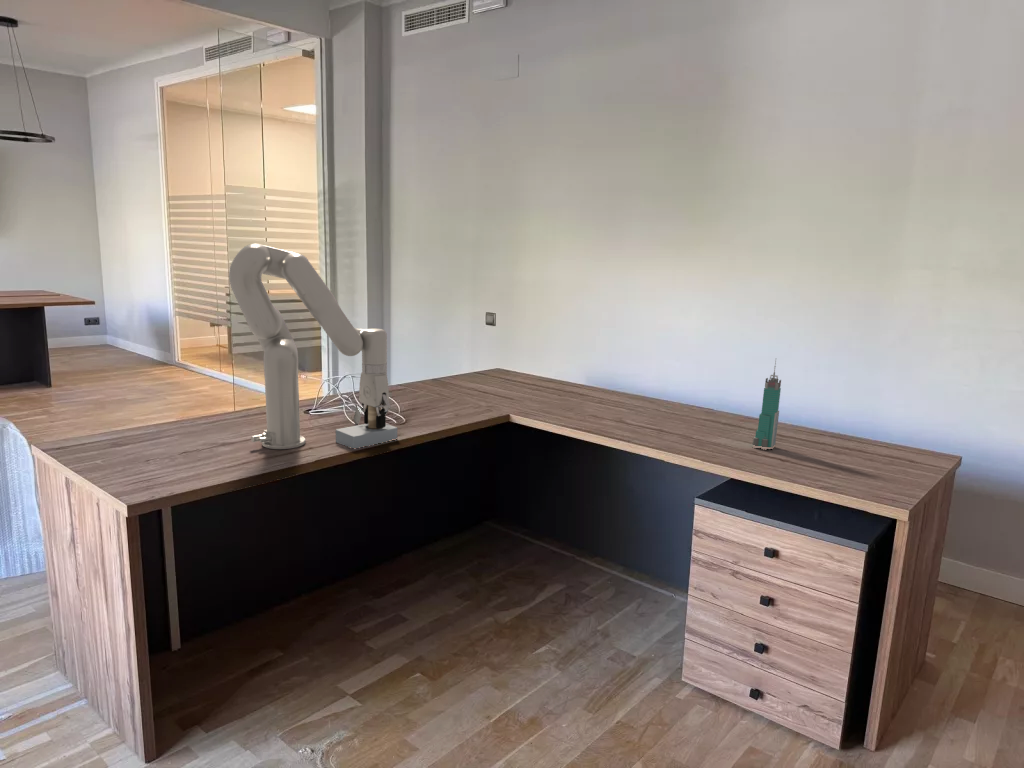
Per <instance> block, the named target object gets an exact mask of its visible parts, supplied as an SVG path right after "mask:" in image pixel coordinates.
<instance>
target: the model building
mask: <svg viewBox="0 0 1024 768" xmlns="http://www.w3.org/2000/svg"><path fill="white" fill-rule="evenodd" d="M354 408H355V412H354V416H353V422H354V423H355V424H356V426H357V425H358V424H359V425H360V421H361V417H362V414H361V415H360V412H359V410H358V408H357V405H356V404H355V407H354Z"/></svg>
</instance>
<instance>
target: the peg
mask: <svg viewBox="0 0 1024 768" xmlns="http://www.w3.org/2000/svg"><path fill="white" fill-rule="evenodd" d="M380 405H382V404H380ZM381 409H382V407H380V411H381ZM376 416H378V415H377V411H376V407H372V406H369V405H368V429H381V428H376Z"/></svg>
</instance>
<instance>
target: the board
mask: <svg viewBox="0 0 1024 768" xmlns="http://www.w3.org/2000/svg"><path fill="white" fill-rule="evenodd" d="M396 438H397V439H398V427H397V426H395V425H390V424H389V423H386V426H385V427H383V428H381V429H368V424H365V423H362V424H359V425H357V424H356V425H352V426H348V427H342V428H336V429H335V442H336V443H337V444H340V445H342V446H344V445H345V446H344V447H347V446H348V447H347V448H349V447H351V448H359V447H363V446H368V447H370V446H369V445H372V446H374V445H373V444H377V445H379V444H378V443H381V444H383V443H382V442H386V441H389V440H392V439H396ZM386 443H387V442H386ZM351 448H350V449H351ZM363 448H364V447H363ZM359 449H360V448H359Z"/></svg>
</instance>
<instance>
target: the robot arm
mask: <svg viewBox="0 0 1024 768" xmlns="http://www.w3.org/2000/svg"><path fill="white" fill-rule="evenodd" d="M228 273H229V274H228V278H229V284H230V287H231V290H232V293H233V295H234V297H235V299H236V301H237V304H238V306H239V308H240V310H241V312H242V314H243V317H244V318H245V321H246V323H247V326H248V328H249V331H250V332H251V333H252V334H253V335H254V337H256V338H257V342H258V343H259V345H260V347H261V349H262V351H263V373H264V388H265V389H264V391H265V393H264V394H265V416H266V417H265V418H266V429H263V432H262V433H261V434H256V435H255V434H254V435H251V436H250V440H251V442H252V443H257V442H259V443H261V445H262V447H264V448H266V449H271V450H289V449H290V450H291V449H295V448H298V447H302V446H303V445H305V444H306V437H304V436H302V435H301V424H300V421H301V420H300V418H301V417H300V392H299V390H300V388H299V386H300V385H299V352H298V351H299V350H298V347H297V344H296V342H295V340H294V338H293V336H292V333H291V332H290V330H289V327H288V326H287V323H286V320H285V319H284V317H283V315H282V313H281V312H280V310H279V309H278V308H277V307H276V306H274V304H273V303H272V301H271V299H270V297H269V295H268V292H267V290H266V288H265V285H264V284H263V281H262V275H267V276H271V277H275V278H279V279H284V280H286V282H287V284H288V285H289V286H290V287H291V289H292V290H293V291H294V292H295V293H296V295H297V297H298V298H299V300H301V302H302V304H304V306H305V307H306V309H307V310H308V311H309V313H310V314H311V316H312V317H313V318H314V319H315V321H317V323H318V324H319V325H320V326H321V328H322V329H323V331H324V332H325V334H326V335H327V336H328V338H329V339H330V340H331V341H332V343H333V344H334V347H336V348H337V350H338V352H340V353H341V354H342V355H343V356H347V357H354V356H357V355H358V354H360V352H361V373H360V379H359V388H358V389H359V390H358V391H359V396H358V400H359V402H360V403H361V405H362V406H361V407H363V409H362V412H363V421H364V423H363V424H368V405H369V406H372V407H376V411H377V415H378V416H376V428H383V427H385V426H386V424H387V423H386V422H387V421H386V419H387V418H386V415H387V414H388V412H389V410H390V409H391V404H390V402H389V401H390V391H389V380H388V379H389V378H388V374H387V373H388V360H387V359H388V351H387V349H388V346H387V345H388V341H387V339H388V336H387V335H388V334H387V331H386V330H385V329H382V328H375V327H373V328H358V327H357V328H356V327H355V326H353V324H352V323H351V321H350V320H349V319H348V317H347V315H346V314H345V313H344V311H343V309H342V308H341V306H340V305H339V303H338V301H337V299H336V297H335V295H334V294H333V292H332V291H331V290H330V289H329V287H328V286H327V284H326V283H325V281H324V280H323V279H322V277H321V276H320V275H319V273H318V271H317V270H316V269H315V268H314V267H313V265H312V264H311V262H310V261H309V259H308V258H307V257H306V256H305V255H304V254H301V253H299V252H293V251H288V250H284V249H280V248H277V247H272V246H268V245H264V244H261V243H250V244H247V245H245V246H244V247H242V248H241V249H240V250H239V252H237V254H236V255H235V256H234V258H233V260H232V262H231V264H230V267H229V272H228ZM380 404H381V405H380ZM380 407H381V411H380Z"/></svg>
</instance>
